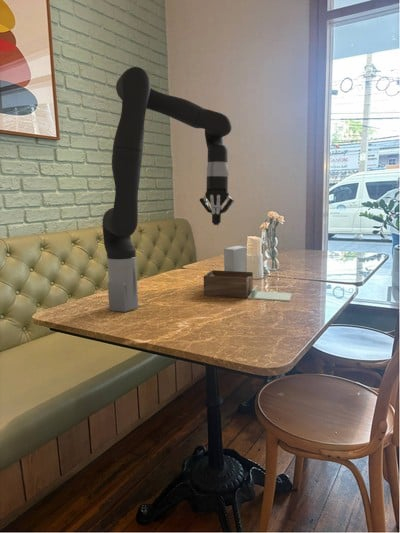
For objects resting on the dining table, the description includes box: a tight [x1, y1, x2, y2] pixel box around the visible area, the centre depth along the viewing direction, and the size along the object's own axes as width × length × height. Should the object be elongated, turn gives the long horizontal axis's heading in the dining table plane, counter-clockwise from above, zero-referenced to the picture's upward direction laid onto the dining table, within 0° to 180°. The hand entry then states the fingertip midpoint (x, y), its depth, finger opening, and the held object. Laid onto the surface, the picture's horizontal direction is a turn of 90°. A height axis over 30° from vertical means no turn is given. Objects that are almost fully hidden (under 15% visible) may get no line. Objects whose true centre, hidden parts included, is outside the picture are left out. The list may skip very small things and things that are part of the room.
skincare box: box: [223, 245, 248, 272], centre depth 165 cm, size 8×6×15 cm
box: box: [203, 269, 254, 299], centre depth 147 cm, size 11×16×7 cm
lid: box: [247, 284, 293, 302], centre depth 142 cm, size 10×15×4 cm, turn 72°
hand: (216, 224), depth 142 cm, fingers closed
